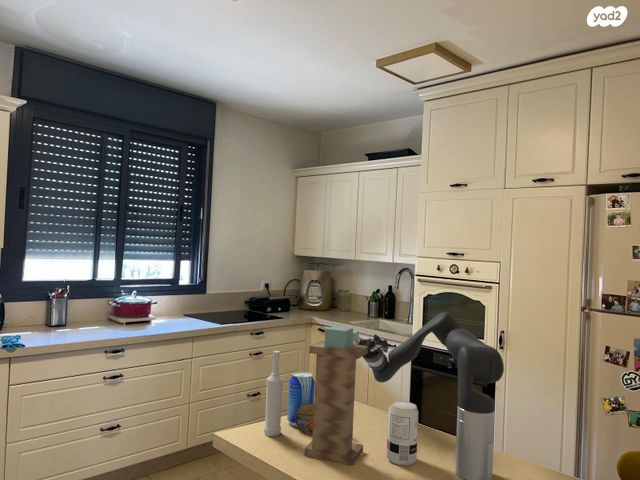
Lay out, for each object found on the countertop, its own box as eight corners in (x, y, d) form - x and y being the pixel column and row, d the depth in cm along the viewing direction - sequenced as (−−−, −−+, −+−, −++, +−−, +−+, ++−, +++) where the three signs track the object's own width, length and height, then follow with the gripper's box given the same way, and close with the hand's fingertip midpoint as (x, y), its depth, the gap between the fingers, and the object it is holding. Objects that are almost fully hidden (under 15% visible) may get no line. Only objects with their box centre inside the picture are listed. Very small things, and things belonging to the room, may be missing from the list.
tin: (294, 431, 146) (295, 404, 146) (295, 427, 149) (297, 401, 149) (342, 435, 144) (343, 408, 144) (342, 432, 147) (343, 405, 148)
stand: (362, 451, 132) (367, 346, 134) (352, 465, 123) (357, 351, 124) (317, 442, 138) (322, 340, 139) (304, 455, 128) (309, 345, 130)
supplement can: (381, 455, 131) (383, 401, 131) (406, 452, 134) (408, 399, 134) (395, 468, 123) (398, 410, 124) (422, 464, 126) (424, 408, 127)
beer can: (283, 420, 155) (286, 371, 156) (306, 418, 158) (309, 370, 159) (292, 429, 147) (295, 378, 148) (316, 426, 151) (319, 376, 151)
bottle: (277, 437, 140) (282, 353, 141) (261, 435, 141) (266, 352, 142) (282, 431, 145) (286, 350, 146) (266, 429, 146) (271, 349, 147)
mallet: (364, 339, 144) (364, 323, 145) (344, 349, 127) (345, 331, 127) (345, 337, 147) (346, 321, 147) (324, 346, 129) (325, 328, 129)
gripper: (355, 340, 171) (344, 323, 158) (393, 345, 166) (385, 327, 153) (351, 360, 167) (339, 343, 154) (390, 365, 162) (381, 349, 149)
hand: (362, 335), depth 154 cm, fingers open, 8 cm apart
